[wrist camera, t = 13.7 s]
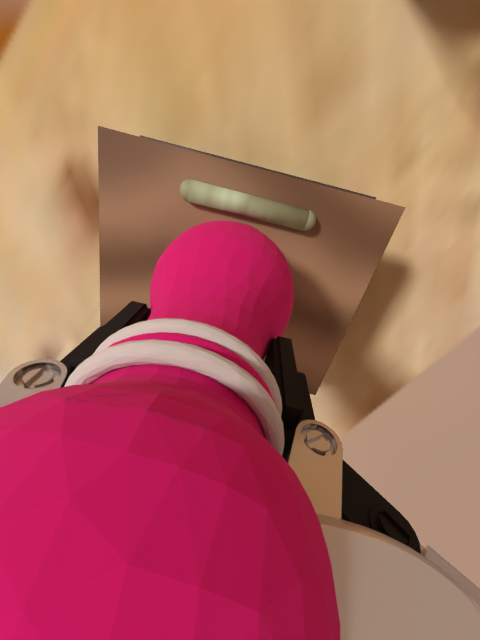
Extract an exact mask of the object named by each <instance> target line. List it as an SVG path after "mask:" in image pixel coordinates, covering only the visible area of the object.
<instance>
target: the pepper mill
mask: <svg viewBox="0 0 480 640" xmlns="http://www.w3.org/2000/svg"><path fill="white" fill-rule="evenodd" d="M293 302H294V287H293V277H292V273H291V270H290V267H289V265H288V262H287V260H286V258H285V256H284V254H283V253H282V252H281V250H280V249H279V248H278V247H277V245H276V244H275V243H274V242H273V241H272V240H271V239H270V238H268V237H267V236H266V235H265V234H263V233H262V232H260V231H259V230H258V229H256V228H254V227H252V226H250V225H247V224H244V223H240V222H233V221H211V222H205V223H202V224H199V225H196V226H193V227H192V228H190V229H188V230H186V231H185V232H183V233H182V234H181V235H179V236H178V237H177V238H176V239H175V240H174V241H173V242H172V243H171V244H170V245H169V246H168V247H167V248H166V249H165V251H164V252H163V254H162V255H161V256H160V258H159V259H158V262H157V264H156V267H155V270H154V272H153V276H152V280H151V285H150V309H151V315H150V316H149V318H148V319H147V321H142V322H138V323H135V324H132V325H130V326H127V327H124V328H122V329H121V330H119V331H117V332H116V333H114V334H112V335H111V336H109V337H108V338H107V339H106V340H105V341H104V342H102V343H101V344H100V345H99V347H98V348H97V349H96V351H95V352H94V353H93V355H92V356H90V357H89V358H87V359H86V360H84V361H83V362H82V363H81V364H80V365H78V367H77V368H76V369H75V370H74V371H73V373H72V374H71V375H70V376H69V378H68V380H67V382H66V384H65V386H64V387H61V388H56V389H51V390H46V391H41V392H38V393H36V394H33V395H31V396H28V397H26V398H23V399H21V400H18V401H16V402H13V403H10V404H8V405H5V406H3V407H0V640H340V619H339V613H338V606H337V599H336V592H335V586H334V579H333V572H332V566H331V561H330V557H329V553H328V549H327V545H326V541H325V538H324V535H323V531H322V528H321V524H320V522H319V519H318V517H317V514H316V512H315V510H314V507H313V505H312V502H311V500H310V498H309V496H308V495H307V493H306V491H305V489H304V488H303V486H302V484H301V482H300V480H299V479H298V477H297V475H296V473H295V472H294V470H293V469H292V468H291V467H290V465H289V464H288V463H287V462H286V460H285V459H284V458H283V457H282V454H283V449H284V428H283V422H282V419H281V414H282V399H281V395H280V391H279V387H278V385H277V382H276V380H275V378H274V376H273V374H272V373H271V371H270V369H269V368H268V366H267V365H266V364H265V363H264V361H263V359H264V358H265V356H266V355H267V352H268V349H269V346H270V343H271V340H272V338H275V339H277V337H278V336H282V335H283V333H284V331H285V329H286V327H287V324H288V322H289V319H290V317H291V314H292V308H293Z"/></svg>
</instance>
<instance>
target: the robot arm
mask: <svg viewBox="0 0 480 640" xmlns="http://www.w3.org/2000/svg"><path fill="white" fill-rule="evenodd" d="M150 315H151V309H150V308H147V305H146V304H144V303H140V302H136V301H131V302H130V303H129V304H128V305H127V306H125V307H124V308H123V309H122V310H121V311H120V312H119V313H118V314H116V315H115V316H114V317H113V318H112V319H111V320H110V321H109V322H107V323H106V324H105V325H104V326H101V327H99V328H98V329H97V330H96V331H94V332H93V333H92V334H91V335H90V336H89V337H87V338H86V339H85V340H84V341H83V342H82V343H81V344H79V345H78V346H77V347H76V348H75V349H74V350H73V351H71V352H70V353H69V354H68V355H67V356H66V357H65V358H63V359H62V360H61V361H60V362H59V361H56V360H50V359H41V360H34V361H30V362H27V363H24V364H21V365H20V366H18V367H16V368H14V369H13V370H12V371H11V372H10V373H9V374H8V375H7V376H6V377H5V379H4V380H3V381H2V382H1V384H0V407H3V406H5V405H8V404H10V403H13V402H16V401H18V400H21V399H23V398H26V397H28V396H31V395H33V394H36V393H38V392H41V391H46V390H51V389H56V388H61V387H64V386H65V384H66V382H67V380H68V378H69V376H70V375H71V374H72V373H73V371H74V370H75V369H76V368H77V367H78V365H80V364H81V363H82V362H83V361H84V360H86V359H87V358H89V357H90V356H92V355H93V353H94V352H95V351H96V349H97V348H98V347H99V345H100V344H101V343H102V342H104V341H105V340H106V339H107V338H108V337H109V336H111V335H112V334H114V333H116V332H117V331H119V330H121V329H122V328H124V327H127V326H130V325H132V324H135V323H138V322H142V321H147V319H148V318H149V316H150ZM264 363H265V364H266V365H267V366H268V368H269V369H270V371H271V373H272V374H273V376H274V378H275V380H276V382H277V385H278V387H279V391H280V395H281V399H282V414H281V419H282V422H283V428H284V449H283V454H282V457H283V458H284V459H285V460H286V462H287V463H288V464H289V465H290V467H291V468H292V469H293V470H294V472H295V473H296V475H297V477H298V479H299V480H300V482H301V484H302V486H303V488H304V489H305V491H306V493H307V495H308V496H309V498H310V500H311V502H312V505H313V507H314V510H315V512H316V514H317V517H318V519H319V522H320V524H321V528H322V531H323V535H324V538H325V541H326V545H327V549H328V553H329V557H330V561H331V566H332V572H333V579H334V586H335V592H336V599H337V606H338V613H339V619H340V640H480V589H479V588H478V587H477V586H476V585H474V584H473V583H472V582H471V581H470V580H469V579H467V578H466V577H465V576H464V575H463V574H462V573H460V572H459V571H458V570H457V569H456V568H454V567H453V566H452V565H451V564H450V563H449V562H447V561H446V560H445V559H444V558H443V557H441V556H440V555H439V554H438V553H437V552H435V551H434V550H433V549H432V548H431V547H430V546H426V547H425V548H423V546H421V545H420V543H419V541H418V538H417V536H416V533H415V531H414V530H413V528H412V527H411V525H410V524H409V522H408V521H407V520H406V519H405V518H404V517H403V516H402V515H401V514H400V512H399V511H397V510H396V509H395V508H394V507H393V506H392V505H391V504H390V503H389V502H388V501H387V500H386V499H384V498H383V497H382V496H381V495H380V494H379V493H378V492H377V491H376V490H375V489H374V488H373V487H372V486H370V485H369V484H368V483H367V482H366V481H365V480H364V479H363V478H362V477H361V476H360V475H359V474H358V473H356V471H354V470H353V469H352V468H351V467H350V466H349V465H348V464H347V463H346V462H345V461H344V460H343V449H342V443H341V441H340V439H339V437H338V436H337V434H336V433H335V432H334V431H333V430H332V429H331V428H330V427H328V426H327V425H325V424H323V423H322V422H319V421H316V420H315V417H314V413H313V408H312V403H311V399H310V394H309V390H308V385H307V380H306V376H305V374H304V373H301V372H297V367H296V362H295V356H294V351H293V345H292V340H291V339H289V338H285V337H281V336H278V337H277V339H275V338H272V340H271V343H270V346H269V349H268V352H267V355H266V358H265V361H264Z"/></svg>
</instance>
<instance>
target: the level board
mask: <svg viewBox="0 0 480 640" xmlns="http://www.w3.org/2000/svg"><path fill="white" fill-rule="evenodd" d="M98 162H99V241H100V319H101V326H104V325H105V324H106V323H107V322H109V321H110V320H111V319H112V318H113V317H114V316H115V315H116V314H118V313H119V312H120V311H121V310H122V309H123V308H124V307H125V306H127V305H128V304H129V303H130V302H131V301H136V302H140V303H144V304H146V305H147V308H150V285H151V280H152V276H153V272H154V270H155V267H156V264H157V262H158V259H159V258H160V256H161V255H162V254H163V252H164V251H165V249H166V248H167V247H168V246H169V245H170V244H171V243H172V242H173V241H174V240H175V239H176V238H177V237H178V236H179V235H181V234H182V233H183V232H185V231H186V230H188V229H190V228H192V227H193V226H196V225H199V224H202V223H205V222H211V221H233V222H240V223H244V224H247V225H250V226H252V227H254V228H256V229H258V230H259V231H260V232H262V233H263V234H265V235H266V236H267V237H268V238H270V239H271V240H272V241H273V242H274V243H275V244H276V245H277V247H278V248H279V249H280V250H281V252H282V253H283V254H284V256H285V258H286V260H287V262H288V265H289V267H290V270H291V273H292V277H293V287H294V302H293V308H292V314H291V317H290V319H289V322H288V324H287V327H286V329H285V331H284V333H283V335H282V336H281V337H285V338H289V339H291V340H292V345H293V351H294V356H295V362H296V367H297V372H301V373H304V374H305V376H306V380H307V385H308V390H309V394H313V395H316V393H317V391H318V388H319V386H320V384H321V382H322V380H323V378H324V376H325V374H326V372H327V370H328V368H329V366H330V363H331V361H332V359H333V357H334V355H335V353H336V351H337V349H338V347H339V345H340V343H341V341H342V338H343V336H344V334H345V332H346V330H347V328H348V326H349V324H350V322H351V320H352V318H353V316H354V313H355V311H356V309H357V307H358V305H359V303H360V301H361V299H362V297H363V295H364V293H365V291H366V288H367V286H368V284H369V282H370V280H371V278H372V276H373V274H374V272H375V270H376V268H377V266H378V263H379V261H380V259H381V257H382V255H383V253H384V251H385V249H386V247H387V245H388V243H389V241H390V238H391V236H392V234H393V232H394V230H395V228H396V226H397V224H398V222H399V220H400V218H401V216H402V213H403V211H404V209H405V207H402V206H398V205H394V204H390V203H387V202H383V201H379V200H375V199H372V198H368V197H364V196H360V195H357V194H353V193H349V192H345V191H341V190H338V189H334V188H330V187H326V186H323V185H319V184H315V183H311V182H308V181H304V180H300V179H296V178H292V177H289V176H285V175H281V174H277V173H274V172H270V171H266V170H262V169H258V168H255V167H251V166H247V165H243V164H240V163H236V162H232V161H228V160H225V159H221V158H217V157H213V156H209V155H206V154H202V153H198V152H194V151H191V150H187V149H183V148H179V147H176V146H172V145H168V144H164V143H160V142H157V141H153V140H149V139H145V138H142V137H138V136H134V135H130V134H127V133H123V132H119V131H115V130H111V129H108V128H104V127H100V126H98ZM265 358H266V356H265ZM265 358H264V359H263V361H265Z"/></svg>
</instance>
